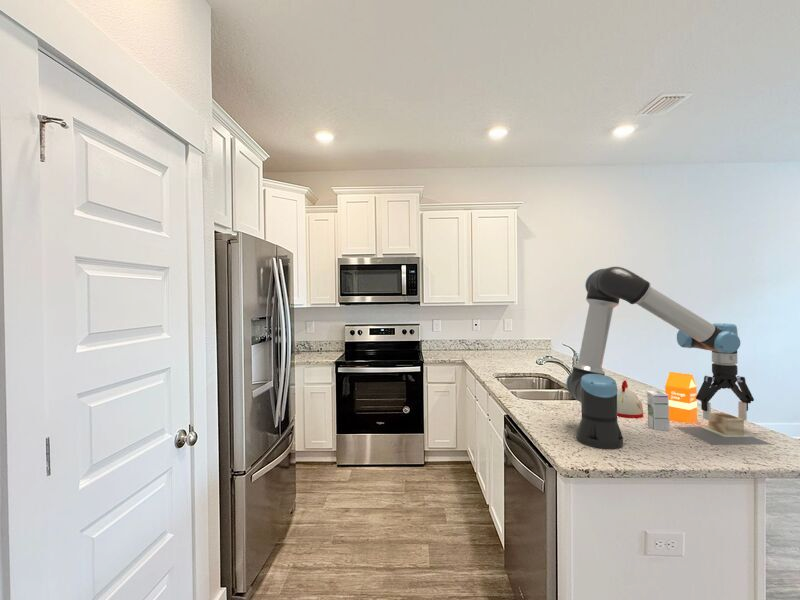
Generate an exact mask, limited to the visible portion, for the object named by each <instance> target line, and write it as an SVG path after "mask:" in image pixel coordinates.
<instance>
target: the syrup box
mask: <svg viewBox="0 0 800 600" xmlns="http://www.w3.org/2000/svg"><path fill="white" fill-rule="evenodd" d="M646 393H647V394H646V398H647V399H646V401H647V403H646V404H647V425H648V427H649V428H651V429H652V430H655V431H671V430H670V420H669V398H668V394H666V393H665V392H664V391H661V390H659V391H658V390H648V391H647V392H646Z"/></svg>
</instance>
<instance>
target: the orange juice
mask: <svg viewBox="0 0 800 600" xmlns="http://www.w3.org/2000/svg"><path fill="white" fill-rule="evenodd" d="M695 381H696V380H695V378H694V376H693V374H689V373H681V372H673V371H669V372H668V376H667V379H666V383H665V386H664V388H665V389H664V391H665V392H664V393H666V394H668V398H669V421H671V420H672V422H675V423H676V422H677V423H687V424H692V423H697V422H698V400H697V399H696V396H697V394H698V392H697V391H698V389H697V387H698V386H697V383H696V382H695Z"/></svg>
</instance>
